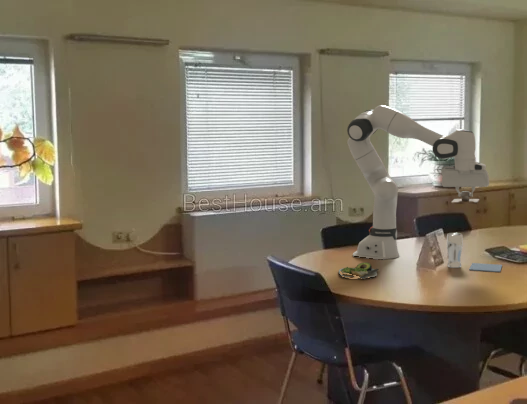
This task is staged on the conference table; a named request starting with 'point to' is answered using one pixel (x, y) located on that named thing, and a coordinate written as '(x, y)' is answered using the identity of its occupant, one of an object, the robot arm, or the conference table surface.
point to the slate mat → (485, 267)
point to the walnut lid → (465, 199)
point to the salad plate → (360, 271)
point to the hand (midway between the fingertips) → (465, 196)
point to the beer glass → (454, 249)
